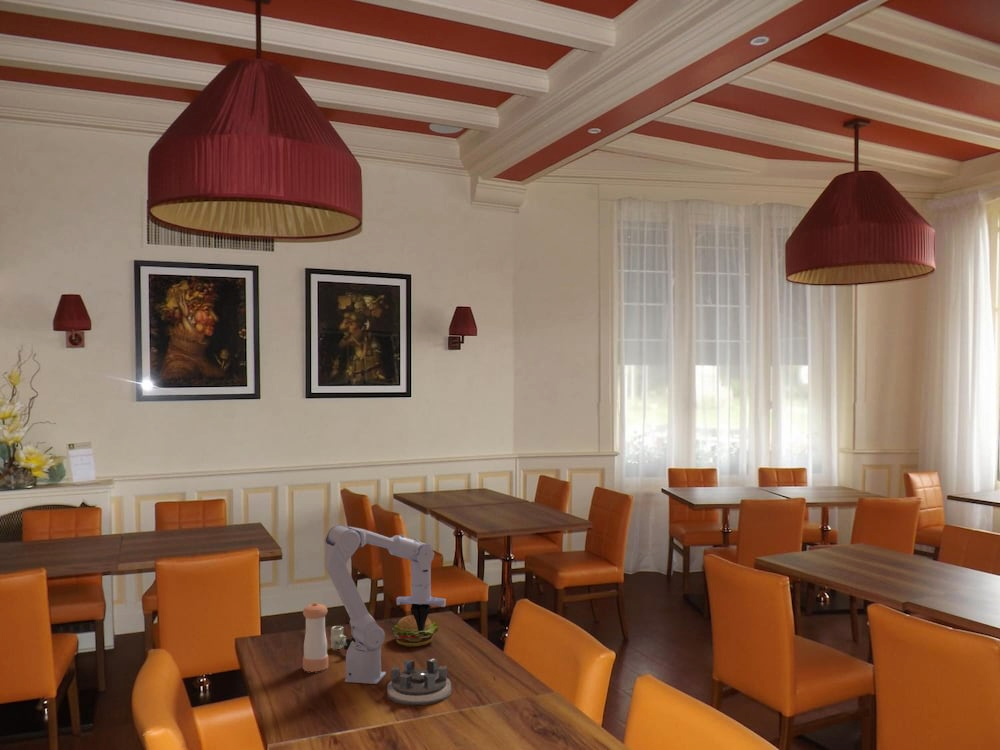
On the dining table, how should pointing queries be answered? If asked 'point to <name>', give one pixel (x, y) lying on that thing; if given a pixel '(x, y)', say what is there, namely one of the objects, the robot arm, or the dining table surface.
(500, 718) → the dining table surface
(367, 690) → the dining table surface
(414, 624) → the food
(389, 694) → the cap base
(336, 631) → the valve
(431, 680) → the finned metal hub
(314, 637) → the salt shaker
